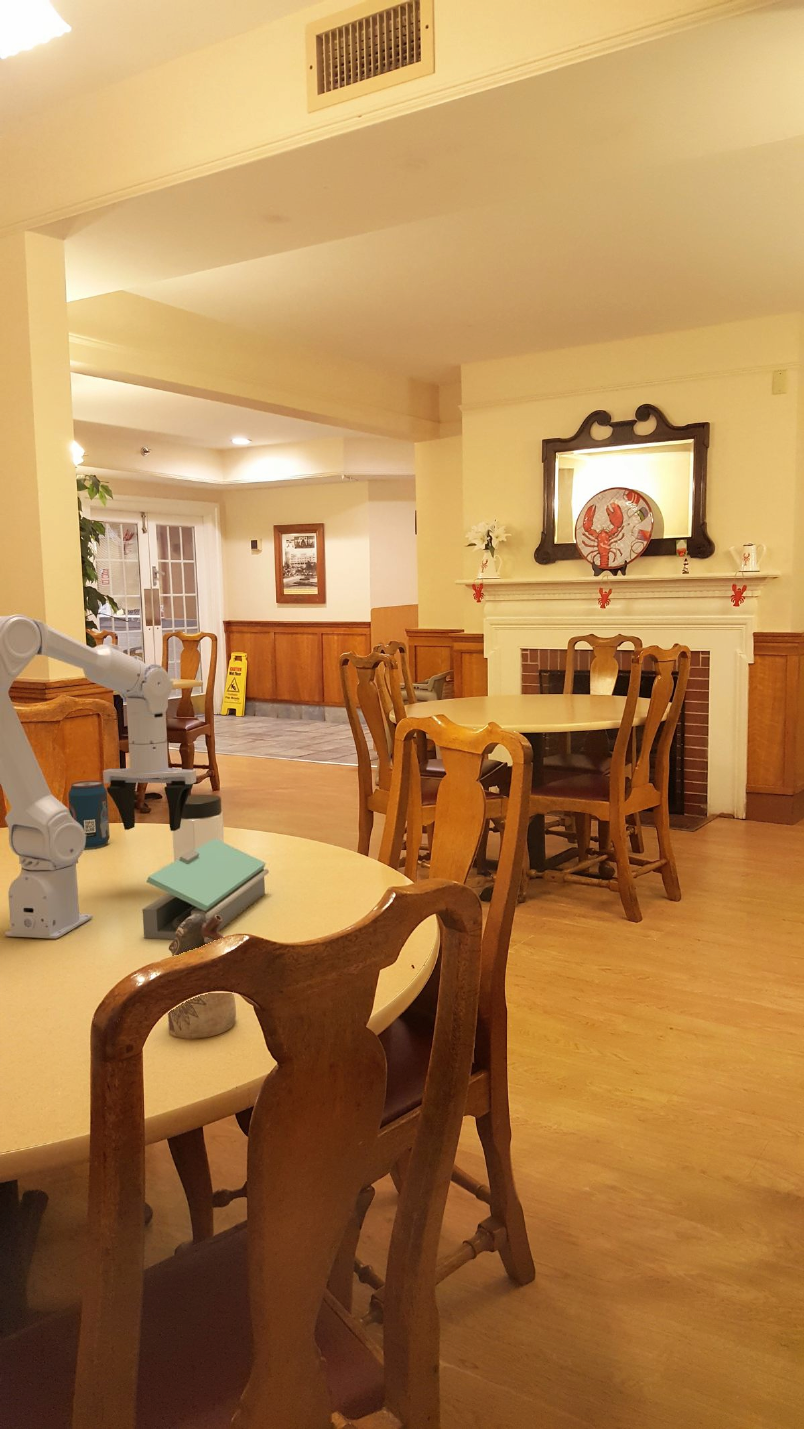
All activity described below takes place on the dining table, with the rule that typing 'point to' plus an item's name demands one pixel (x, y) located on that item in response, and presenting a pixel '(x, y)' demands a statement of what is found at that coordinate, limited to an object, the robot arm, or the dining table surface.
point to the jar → (198, 824)
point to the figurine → (205, 1010)
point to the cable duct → (174, 911)
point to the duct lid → (206, 873)
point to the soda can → (90, 811)
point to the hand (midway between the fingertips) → (152, 829)
